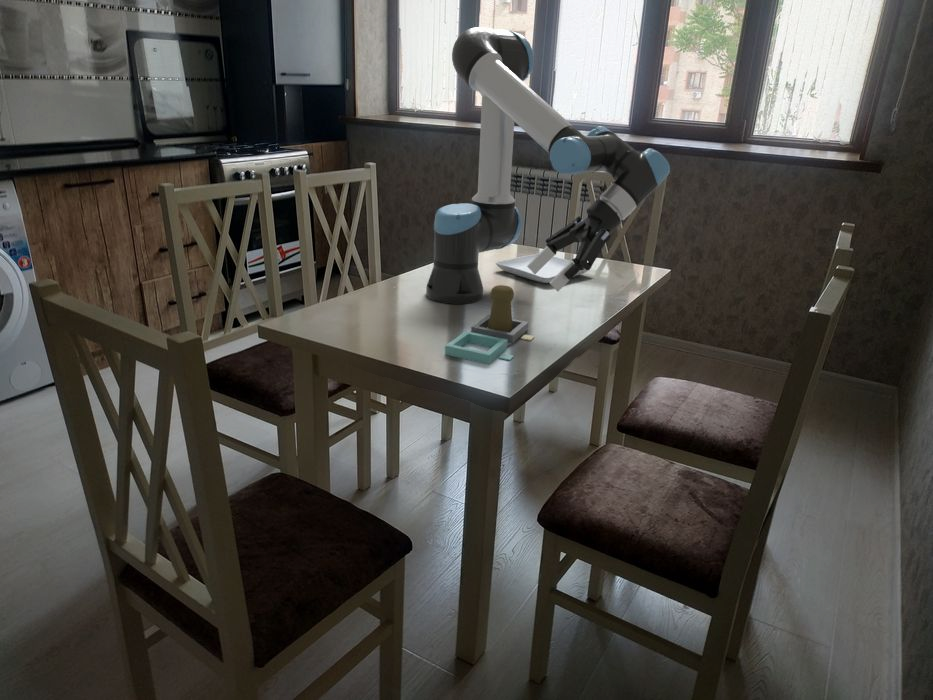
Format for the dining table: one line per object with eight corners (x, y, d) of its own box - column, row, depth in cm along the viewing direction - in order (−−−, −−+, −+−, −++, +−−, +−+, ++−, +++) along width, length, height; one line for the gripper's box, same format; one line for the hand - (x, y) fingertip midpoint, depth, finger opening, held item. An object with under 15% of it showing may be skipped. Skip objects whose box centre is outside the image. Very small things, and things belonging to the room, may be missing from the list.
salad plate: (492, 272, 201) (493, 261, 199) (539, 262, 214) (540, 251, 213) (545, 289, 186) (546, 277, 185) (592, 277, 200) (593, 266, 198)
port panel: (444, 354, 138) (445, 345, 138) (488, 322, 158) (488, 314, 157) (502, 367, 134) (503, 358, 133) (540, 332, 153) (540, 324, 152)
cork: (506, 327, 155) (509, 281, 151) (517, 336, 150) (520, 289, 146) (482, 329, 153) (485, 283, 149) (492, 338, 148) (495, 291, 144)
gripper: (648, 233, 137) (574, 306, 139) (594, 211, 159) (532, 274, 161) (628, 208, 134) (553, 283, 136) (576, 188, 156) (512, 253, 158)
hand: (541, 278), depth 148 cm, fingers open, 13 cm apart
